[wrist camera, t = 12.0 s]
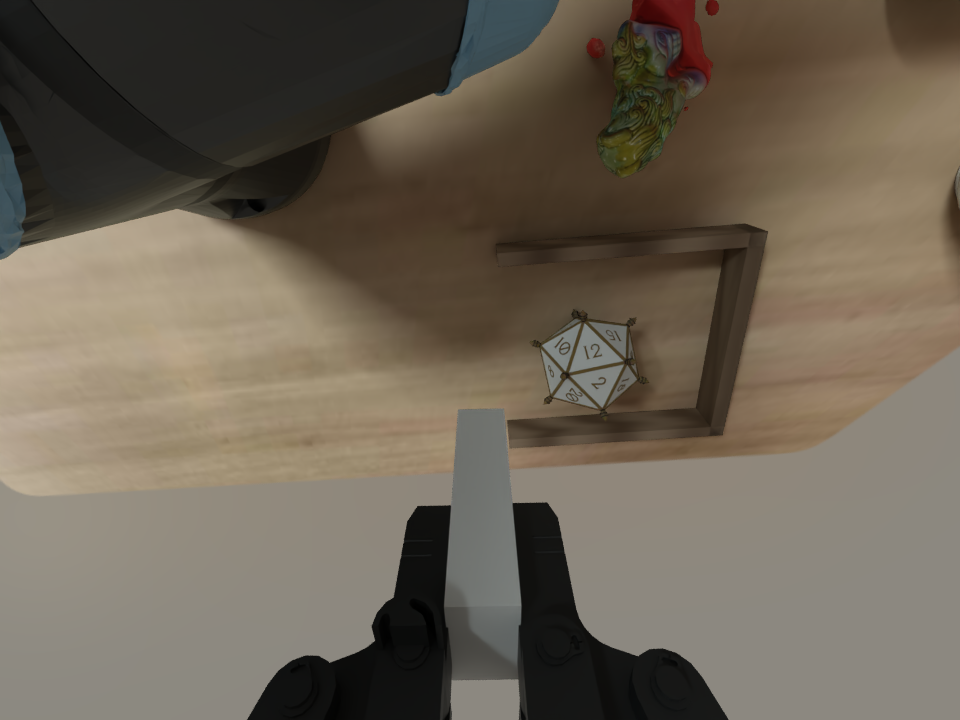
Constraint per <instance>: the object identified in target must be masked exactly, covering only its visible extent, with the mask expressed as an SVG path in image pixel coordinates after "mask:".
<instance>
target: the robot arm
mask: <svg viewBox="0 0 960 720" xmlns="http://www.w3.org/2000/svg"><path fill="white" fill-rule="evenodd" d="M558 2H559V0H0V260H1V259H4V258H7V257H8V256H9V255H11V254H12V253H13V252H15V251H16V250H17V249H18V248H20V247H24V246H28V245H32V244H36V243H40V242H44V241H49V240H53V239H57V238H61V237H65V236H69V235H73V234H77V233H81V232H85V231H89V230H93V229H97V228H101V227H105V226H109V225H113V224H118V223H122V222H126V221H130V220H134V219H138V218H142V217H146V216H150V215H154V214H158V213H162V212H166V211H170V210H174V209H180V210H184V211H188V212H192V213H196V214H200V215H204V216H208V217H213V218H219V219H247V218H253V217H258V216H261V215H264V214H267V213H270V212H273V211H275V210H278V209H280V208H283V207H285V206H287V205H289V204H290V203H292V202H293V201H295V200H296V199H297V198H299V197H300V196H301V195H302V194H303V193H304V192H305V191H306V190H307V189H308V188H309V187H310V186H311V184H312V183H313V182H314V180H315V179H316V177H317V175H318V174H319V172H320V170H321V168H322V166H323V163H324V161H325V158H326V155H327V151H328V147H329V142H330V136H331V134H333V133H335V132H338V131H340V130H343V129H345V128H348V127H350V126H353V125H355V124H358V123H360V122H363V121H365V120H368V119H370V118H373V117H375V116H378V115H380V114H383V113H385V112H388V111H390V110H393V109H395V108H398V107H400V106H403V105H405V104H408V103H410V102H413V101H415V100H418V99H420V98H423V97H425V96H428V95H430V94H433V93H434V94H436V95H437V96H443V95H447V94H450V93H451V92H452V90H453V89H455V88H457V87H459V85H460V84H461V83H462V81H463V80H464V79H466V78H469V77H471V76H473V75H475V74H477V73H479V72H481V71H484V70H486V69H488V68H490V67H492V66H494V65H497V64H499V63H501V62H503V61H505V60H507V59H509V58H512V57H514V56H516V55H518V54H520V53H521V52H522V51H524V50H525V49H526V48H527V47H529V46H530V44H531V43H532V42H533V41H534V40H535V38H536V37H537V36H538V35H539V34H540V32H541V30H542V29H543V28H544V27H545V26H546V25H547V24H548V23H549V21H550V19H551V17H552V16H553V14H554V12H555V10H556V7H557V4H558ZM401 555H402V556H401V559H400V565H399V571H398V576H397V582H396V588H395V593H394V598H392V599H391V600H389V601H387V602H386V603H385V604H384V605H383V607H382V608H381V609H380V610H379V611H378V612H377V614H376V617H375V619H374V622H373V624H372V630H373V634H374V638H375V641H374V642H373V643H372V644H371V645H369V646H368V647H367V648H365V649H363V650H361V651H359V652H357V653H355V654H352V655H350V656H347V657H344V658H341V659H339V660H336V661H333V662H331V663H329V662H328V661H327V660H325V659H323V658H321V657H320V656H303V657H301V658H297V659H295V660H292V661H291V662H289V663H288V664H287V665H285V666H284V667H283V668H281V669H280V670H279V671H278V672H277V673H276V675H275V676H274V677H273V678H272V680H271V681H270V682H269V684H268V685H267V687H266V688H265V690H264V692H263V693H262V695H261V697H260V699H259V700H258V702H257V704H256V705H255V707H254V709H253V711H252V712H251V714H250V716H249V717H248V719H247V720H451V719H452V718H451V717H452V711H451V703H450V700H451V679H452V680H500V679H518V680H519V692H520V693H519V694H520V710H519V720H728V718H727V716H726V715H725V713H724V712H723V710H722V708H721V707H720V705H719V704H718V702H717V700H716V699H715V697H714V696H713V694H712V693H711V691H710V689H709V687H708V686H707V684H706V683H705V681H704V679H703V678H702V676H701V675H700V674H699V673H698V671H697V670H696V669H695V668H694V667H693V665H692V664H691V663H690V662H688V661H687V660H686V659H684V658H683V657H681V656H680V655H678V654H677V653H675V652H672V651H668V650H666V649H649V650H648V651H646V652H644V653H643V654H641V655H639V657H638V656H635V655H632V654H629V653H627V652H624V651H620V650H617V649H614V648H612V647H610V646H607V645H605V644H603V643H601V642H599V641H598V640H597V639H596V638H594V637H593V636H592V635H591V634H590V633H589V632H588V631H587V630H586V628H585V627H584V626H583V624H582V622H581V620H580V619H579V616H578V613H577V610H576V606H575V601H574V596H573V591H572V587H571V581H570V576H569V571H568V566H567V561H566V556H565V553H564V547H563V541H562V538H561V531H560V526H559V521H558V517H557V516H556V515H555V513H554V512H553V510H552V509H551V507H550V506H549V504H548V503H512V495H511V483H510V472H509V460H508V449H507V437H506V426H505V415H504V409H460V410H458V418H457V432H456V446H455V460H454V474H453V488H452V502H451V506H450V505H449V506H417V508H416V509H415V511H414V512H413V514H412V515H411V517H410V518H409V520H408V521H407V526H406V532H405V538H404V544H403V548H402V554H401Z"/></svg>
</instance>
